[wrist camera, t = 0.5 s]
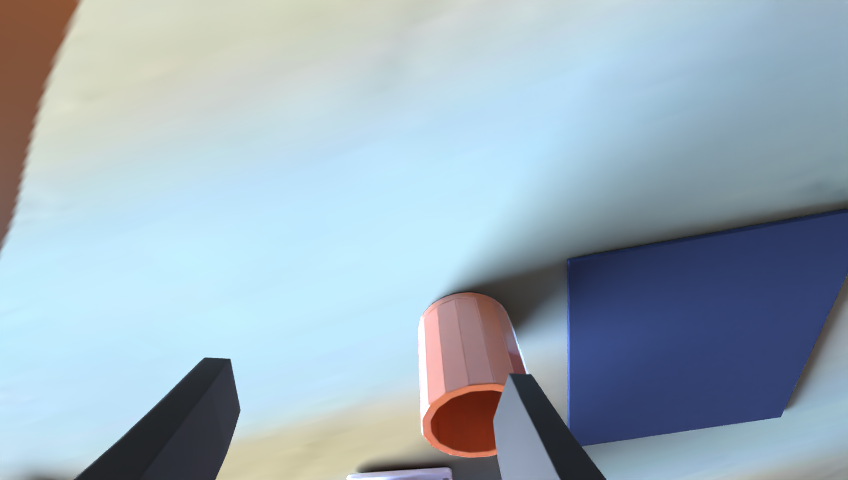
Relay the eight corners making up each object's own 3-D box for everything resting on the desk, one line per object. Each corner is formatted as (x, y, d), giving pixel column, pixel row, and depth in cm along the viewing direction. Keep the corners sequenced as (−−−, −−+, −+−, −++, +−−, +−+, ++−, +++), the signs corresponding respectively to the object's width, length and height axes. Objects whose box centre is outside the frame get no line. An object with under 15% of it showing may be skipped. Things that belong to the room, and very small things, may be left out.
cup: (507, 357, 24) (534, 453, 18) (421, 362, 24) (424, 461, 18) (512, 288, 21) (547, 379, 16) (415, 295, 21) (417, 388, 16)
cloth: (777, 413, 28) (781, 417, 27) (567, 444, 29) (569, 448, 28) (872, 203, 19) (879, 206, 19) (566, 259, 20) (569, 262, 20)
